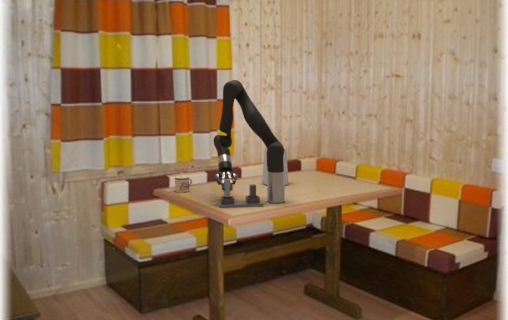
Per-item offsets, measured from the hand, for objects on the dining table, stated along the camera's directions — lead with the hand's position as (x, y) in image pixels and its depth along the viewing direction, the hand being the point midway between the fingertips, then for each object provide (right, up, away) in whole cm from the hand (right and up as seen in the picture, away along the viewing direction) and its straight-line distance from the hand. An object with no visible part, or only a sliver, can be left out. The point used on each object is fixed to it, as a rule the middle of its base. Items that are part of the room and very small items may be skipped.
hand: (227, 190), depth 292 cm
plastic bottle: (+28, 0, +64) cm, 70 cm away
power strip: (+7, -9, +4) cm, 12 cm away
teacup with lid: (-29, -3, +43) cm, 52 cm away
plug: (0, -4, +3) cm, 5 cm away
